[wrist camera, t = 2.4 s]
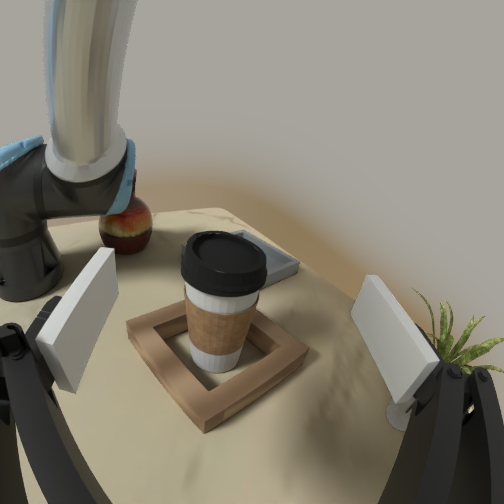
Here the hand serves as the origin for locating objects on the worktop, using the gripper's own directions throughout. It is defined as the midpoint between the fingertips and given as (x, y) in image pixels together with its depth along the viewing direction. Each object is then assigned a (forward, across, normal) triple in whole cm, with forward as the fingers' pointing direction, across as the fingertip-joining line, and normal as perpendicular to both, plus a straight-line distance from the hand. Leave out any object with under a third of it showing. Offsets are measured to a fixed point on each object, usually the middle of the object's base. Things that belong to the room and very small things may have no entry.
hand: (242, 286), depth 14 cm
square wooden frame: (+12, 0, -19) cm, 23 cm away
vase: (+38, -19, -19) cm, 47 cm away
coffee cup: (+12, 0, -19) cm, 23 cm away
